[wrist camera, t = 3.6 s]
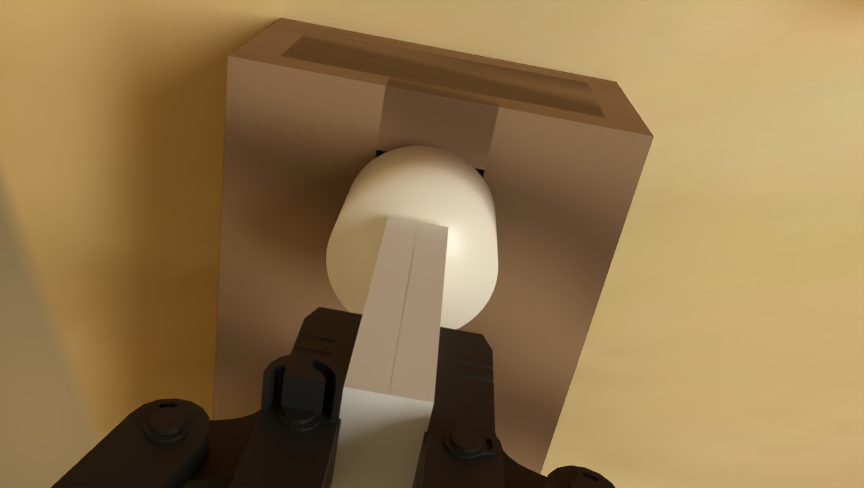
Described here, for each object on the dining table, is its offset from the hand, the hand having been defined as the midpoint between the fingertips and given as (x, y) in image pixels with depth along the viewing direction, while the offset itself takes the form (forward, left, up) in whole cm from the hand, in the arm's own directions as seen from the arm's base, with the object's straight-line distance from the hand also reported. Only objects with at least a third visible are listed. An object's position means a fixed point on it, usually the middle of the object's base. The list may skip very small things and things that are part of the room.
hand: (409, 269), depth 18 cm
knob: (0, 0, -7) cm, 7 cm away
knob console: (-8, 0, -10) cm, 12 cm away
